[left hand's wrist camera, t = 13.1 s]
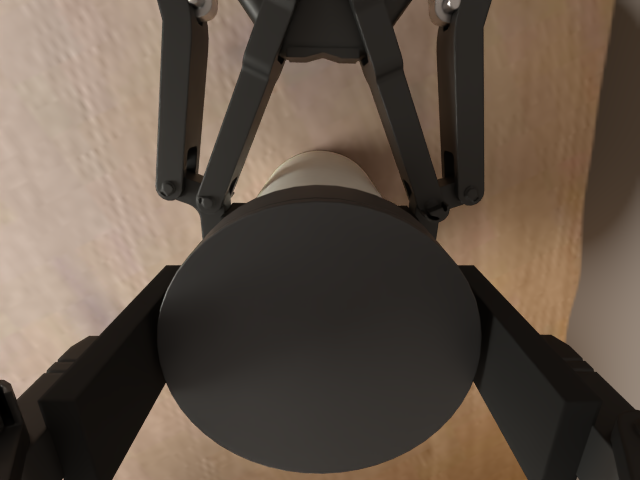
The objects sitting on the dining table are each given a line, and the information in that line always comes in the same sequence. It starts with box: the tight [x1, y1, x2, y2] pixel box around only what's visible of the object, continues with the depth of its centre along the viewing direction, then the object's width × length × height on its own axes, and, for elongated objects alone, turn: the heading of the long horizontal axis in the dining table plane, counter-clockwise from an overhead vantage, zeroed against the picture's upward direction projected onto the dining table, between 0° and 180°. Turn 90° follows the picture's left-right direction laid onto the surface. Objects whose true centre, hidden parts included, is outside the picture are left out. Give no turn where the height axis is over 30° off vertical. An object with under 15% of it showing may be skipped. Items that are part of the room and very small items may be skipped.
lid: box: [157, 185, 482, 474], centre depth 12 cm, size 9×9×2 cm
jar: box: [256, 151, 382, 198], centre depth 18 cm, size 8×8×16 cm
